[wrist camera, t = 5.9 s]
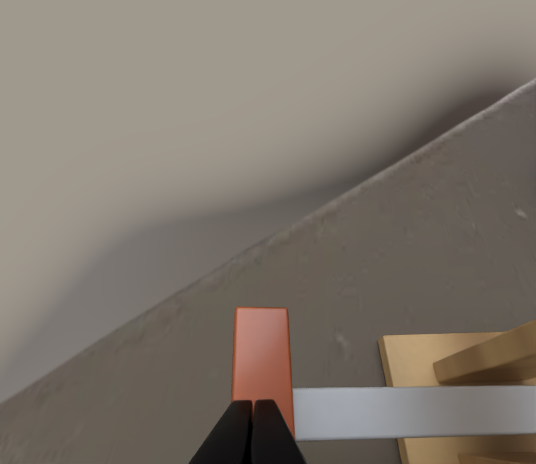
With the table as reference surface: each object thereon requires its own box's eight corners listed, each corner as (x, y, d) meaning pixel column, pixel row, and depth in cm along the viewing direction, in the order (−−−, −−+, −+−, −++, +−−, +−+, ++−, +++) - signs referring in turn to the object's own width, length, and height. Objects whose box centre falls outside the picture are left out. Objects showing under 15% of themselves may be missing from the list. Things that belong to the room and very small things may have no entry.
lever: (225, 540, 7) (226, 583, 5) (233, 325, 10) (235, 299, 8) (698, 510, 9) (840, 535, 7) (597, 329, 11) (678, 307, 9)
